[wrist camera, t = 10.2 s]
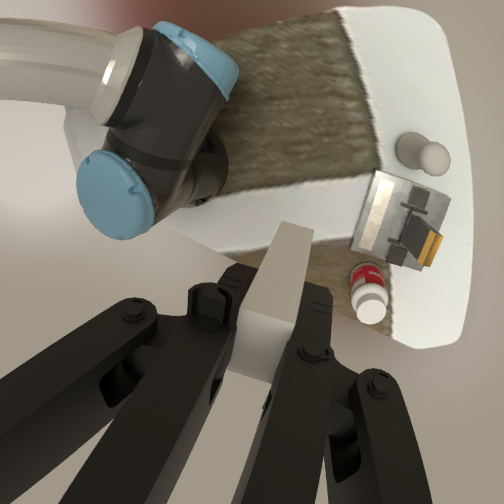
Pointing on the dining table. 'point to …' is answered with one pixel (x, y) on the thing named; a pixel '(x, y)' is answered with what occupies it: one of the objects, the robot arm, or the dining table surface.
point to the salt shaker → (423, 154)
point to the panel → (395, 217)
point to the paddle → (421, 239)
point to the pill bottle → (368, 293)
